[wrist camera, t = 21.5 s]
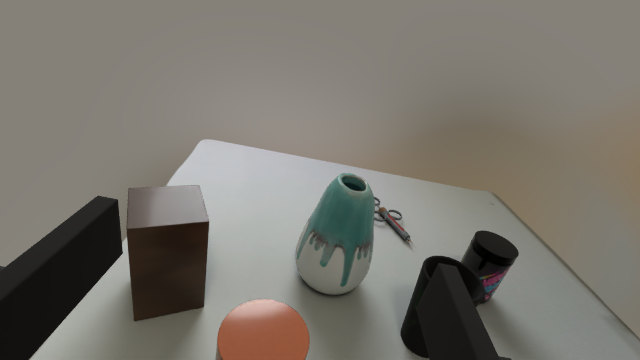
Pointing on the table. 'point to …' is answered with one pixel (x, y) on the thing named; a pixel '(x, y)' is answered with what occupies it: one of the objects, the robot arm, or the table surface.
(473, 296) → the cup
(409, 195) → the table surface
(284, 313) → the orange glossy cylinder
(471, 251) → the supplement container
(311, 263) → the vase
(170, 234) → the dark brown rectangular block
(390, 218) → the syringe
